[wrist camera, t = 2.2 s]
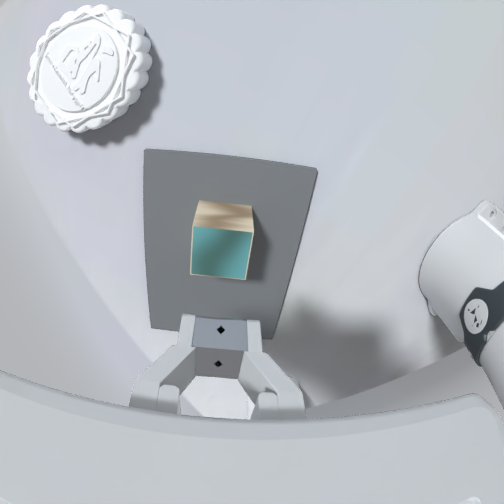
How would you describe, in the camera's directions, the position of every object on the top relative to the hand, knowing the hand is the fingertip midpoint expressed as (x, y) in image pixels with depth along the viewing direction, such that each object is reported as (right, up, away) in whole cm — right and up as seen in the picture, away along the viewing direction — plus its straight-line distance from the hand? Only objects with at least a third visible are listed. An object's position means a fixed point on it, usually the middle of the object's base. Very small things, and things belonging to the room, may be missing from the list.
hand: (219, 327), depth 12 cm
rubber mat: (-2, +2, +21) cm, 22 cm away
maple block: (-2, +6, +18) cm, 19 cm away
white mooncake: (-13, +20, +10) cm, 26 cm away
